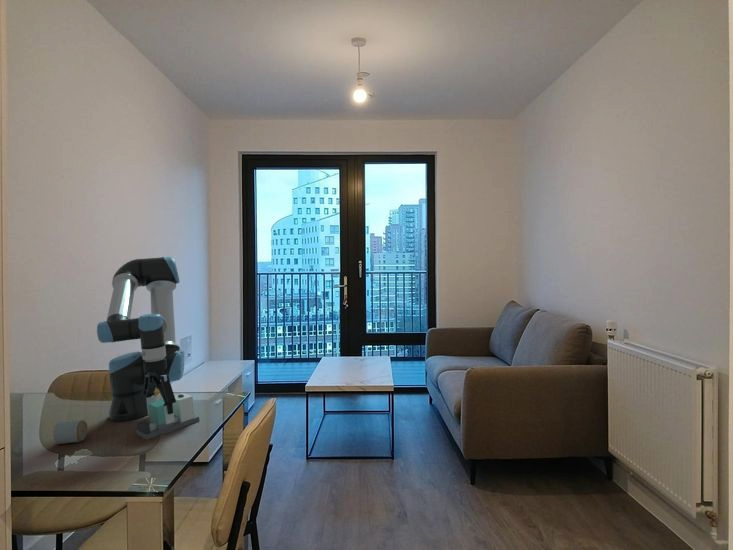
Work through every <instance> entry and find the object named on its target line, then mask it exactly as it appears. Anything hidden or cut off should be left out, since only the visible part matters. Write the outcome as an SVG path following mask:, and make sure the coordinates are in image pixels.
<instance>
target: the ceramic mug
mask: <svg viewBox="0 0 733 550" xmlns="http://www.w3.org/2000/svg"><path fill="white" fill-rule="evenodd" d="M88 426H89V425H88V423H87V422H86V421H85V420H82V419H68V420H67V419H61V420H57V422H56V424H55V425H54V428H53V441H54V443H55V444H56V445H63V444H71V443H73V444H74V443H80V442H82V441H84V440H85V439H86V437H87V435H88V429H89V428H88Z"/></svg>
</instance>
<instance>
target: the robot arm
mask: <svg viewBox="0 0 733 550" xmlns="http://www.w3.org/2000/svg"><path fill="white" fill-rule="evenodd" d="M179 283H180V276H179V272H178V267H177V264H176V260H175V258H174V257H173V256H162V257H150V258H136V259H132V260H129V261H127V262H125V263H124V264H123V265H122V266H120V267H119V268H118V269H117V271H116V272H115V273H114V274H113V277H112V281H111V286H112V288H113V289H112V294H111V299H110V302H109V308H108V313H107V317H106V321H104V320H103V321H99V322H98V323H97V326H96V335H97V338H98V341H99V342H100V343H102V344H105V343H116V342H117V343H118V342H119V343H120V342H126V341H132V340H133V341H134V340H140V347H141V348H140V349H141V351H133V352H127V353H124V354H121V355H118V356H115V357H113V358H111V360H110V361H109V363H108V375H109V381H110V391H111V401H110V407H109V411H108V418H110V419H109V420H110V421H112V420H113V422H127V421H133V420H137V419H140V418H143V417H145V416H147V415H148V417H149V410H148V403H152V402H155V401H156V394H155V390H156V389H157V390H158V391H159V393H160V396H161V398H162V400H164V403H165V404H164V405H163V406H164V411H165V420H166V424H169V423H172V422H175V421H174V411H173V403H175V402H176V399H175V394H174V391H173V388H172V384H171V382H176V381H180V380H181V379H182V378H183V375H184V371H185V351H184V350H182V349H181V348H180V346H179V344H177V343H176V328H175V327H176V325H175V312H174V311H175V309H174V308H175V307H174V293H173V291H175V290H176V289H177V284H179ZM138 287H139V288H140V287H146V290H147V291H148V292H149V293H150V313H148V314H143V315H140V316H139V317H136V318H131V314H132V308H133V303H134V295H135V291H136V290H137V289H138Z"/></svg>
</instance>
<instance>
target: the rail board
mask: <svg viewBox="0 0 733 550" xmlns="http://www.w3.org/2000/svg"><path fill="white" fill-rule="evenodd" d="M174 396H175V399H176V402H175V403H173V411H174V421H175V422H173V426H170V427H167V428H164V429H161V430H158V429H157V424H155V423H151V424H150V423H149V422H146V421H143V420H140V421H137V429H136V430H135V431H136V435H137V436H139V437H141V438H143V439H145V440H150V439H153V438H155V437H158V436H162V435H163V434H164V435H165V434H168V433H170V432H173V431H175V429H176V430H179V429H180V428H183V427H186V426H188V425H192V424H194V423H197V422H200V416H197V415H196V414H195V410H194V409H195V407H194V399H193V395H190V394H188V393H187V394H186V393H184V392H181V393H178V394H176V395H175V394H174Z"/></svg>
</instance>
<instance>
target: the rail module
mask: <svg viewBox="0 0 733 550" xmlns="http://www.w3.org/2000/svg"><path fill="white" fill-rule="evenodd" d="M164 404H165V403H164V400H163V398H162V399H159V400H155V402H152V403H148V410H149V416H148V417H149V424H151V423H155V424H157V429H158V430H161V429H164V428H167V427H170V426H173V422H172V423H169V424H166V420H165V411H164V406H163V405H164Z"/></svg>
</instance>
